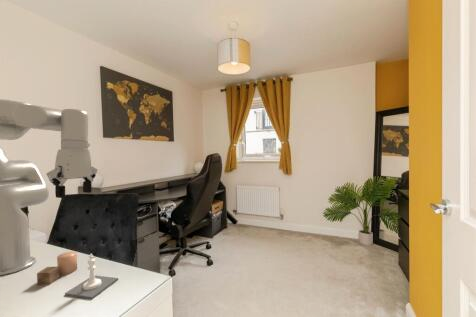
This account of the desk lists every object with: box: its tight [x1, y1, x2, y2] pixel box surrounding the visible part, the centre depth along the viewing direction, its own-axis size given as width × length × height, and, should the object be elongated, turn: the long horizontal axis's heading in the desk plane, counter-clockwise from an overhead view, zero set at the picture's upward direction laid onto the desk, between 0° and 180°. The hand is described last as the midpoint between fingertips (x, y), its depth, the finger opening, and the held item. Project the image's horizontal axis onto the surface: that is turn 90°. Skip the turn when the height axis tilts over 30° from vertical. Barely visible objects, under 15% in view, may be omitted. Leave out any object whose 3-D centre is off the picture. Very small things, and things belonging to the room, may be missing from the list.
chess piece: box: [83, 253, 102, 290], centre depth 70 cm, size 5×5×10 cm
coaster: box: [64, 274, 119, 300], centre depth 70 cm, size 10×10×1 cm
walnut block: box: [36, 266, 60, 286], centre depth 74 cm, size 4×4×4 cm
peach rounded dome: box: [56, 251, 78, 276], centre depth 80 cm, size 6×6×6 cm
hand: (74, 194), depth 77 cm, fingers open, 9 cm apart
